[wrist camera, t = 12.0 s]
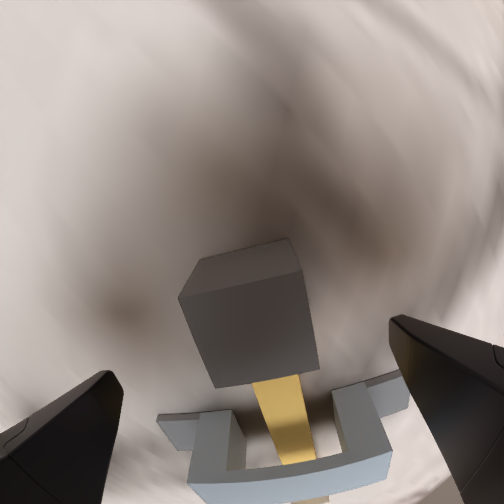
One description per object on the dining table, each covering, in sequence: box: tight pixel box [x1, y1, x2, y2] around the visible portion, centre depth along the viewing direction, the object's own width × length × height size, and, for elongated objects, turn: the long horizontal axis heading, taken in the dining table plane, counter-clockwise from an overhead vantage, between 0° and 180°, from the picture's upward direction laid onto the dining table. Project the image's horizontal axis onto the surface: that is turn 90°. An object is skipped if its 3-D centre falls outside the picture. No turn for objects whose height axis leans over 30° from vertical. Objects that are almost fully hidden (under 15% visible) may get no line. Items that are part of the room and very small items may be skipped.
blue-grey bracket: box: [156, 370, 410, 504], centre depth 14 cm, size 6×16×5 cm, turn 104°
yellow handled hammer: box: [178, 238, 330, 504], centre depth 14 cm, size 22×4×4 cm, turn 14°
